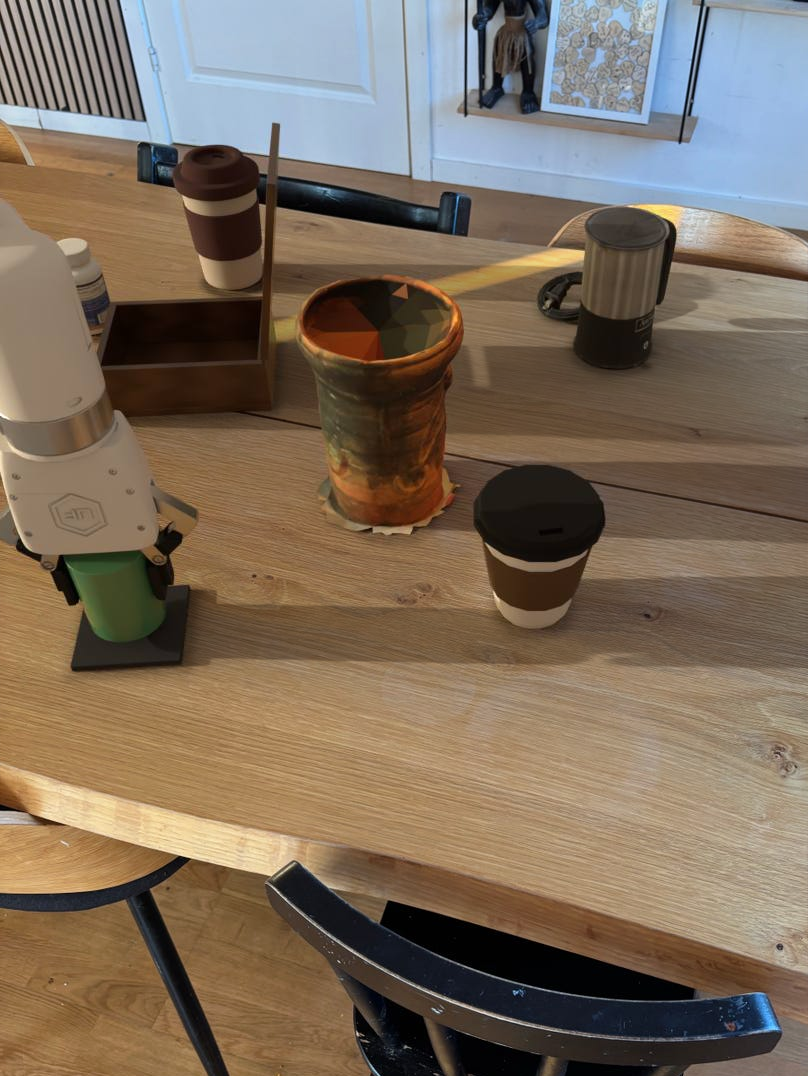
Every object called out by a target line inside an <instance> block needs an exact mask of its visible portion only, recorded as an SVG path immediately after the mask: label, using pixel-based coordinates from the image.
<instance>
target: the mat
mask: <svg viewBox="0 0 808 1076" xmlns="http://www.w3.org/2000/svg"><path fill="white" fill-rule="evenodd" d="M190 597H191V585H190V584H176V585H174V584H173V585H168V589H167V595H166V600H165V603H166V608H167V610H166V616H165V618H164V620H163V622H162V623H161V625H160V626H159V627H158V628H157V629H156V630H155V631H153V632H152V633H151V634H149V635H147V636H145V637H143V638H141V639H138V640H134V641H130V642H112V641H108V640H105V639H102V638H101V637H99V636H98V635H96V634H95V633H94V631H93V630H92V628H91V626H90V623H89V621H88V618H87V616H86V613H85V611H84V608H83V607H82V612H81V617H80V621H79V627H78V631H77V634H76V640H75V645H74V649H73V652H72V653H73V654H72V657H71V662H70V670H71V671H72V672H80V671H82V672H83V671H96V670H112V669H113V670H114V669H115V670H116V669H128V668H129V669H130V668H145V667H161V666H162V667H163V666H176V665H182V661H183V654H184V652H183V651H184V645H185V637H186V629H187V622H188V613H189V606H190V599H191V598H190Z"/></svg>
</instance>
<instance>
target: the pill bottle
mask: <svg viewBox="0 0 808 1076" xmlns="http://www.w3.org/2000/svg"><path fill="white" fill-rule="evenodd" d="M55 242H56V243H57V244H58V245H59V246H60V248H61V249H62V250H63V252H64V253H65V255H66V257H67V260H68V263H69V266H70V268H71V271H72V275H73V278H74V281H75V285H76V288H77V291H78V294H79V298H80V301H81V304H82V308H83V311H84V314H85V317H86V321H87V324H88V327H89V331H90V334H91V336H93V335H94V336H95V335H99V334H102V330H103V327H104V323H105V319H106V316H107V312H108V308H109V305H110V302H112V301H111V298H110V294H109V291H108V288H107V284H106V280H105V277H104V274H103V270H102V266H101V264H100V263H99V261H98V260H97V259H95V258H94V257H92V252H91V249H90V245H89V243H88V242H87V241H86V240H85V239H82V238H79V237H68V238H63V239H61V240H58V241H55Z"/></svg>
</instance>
